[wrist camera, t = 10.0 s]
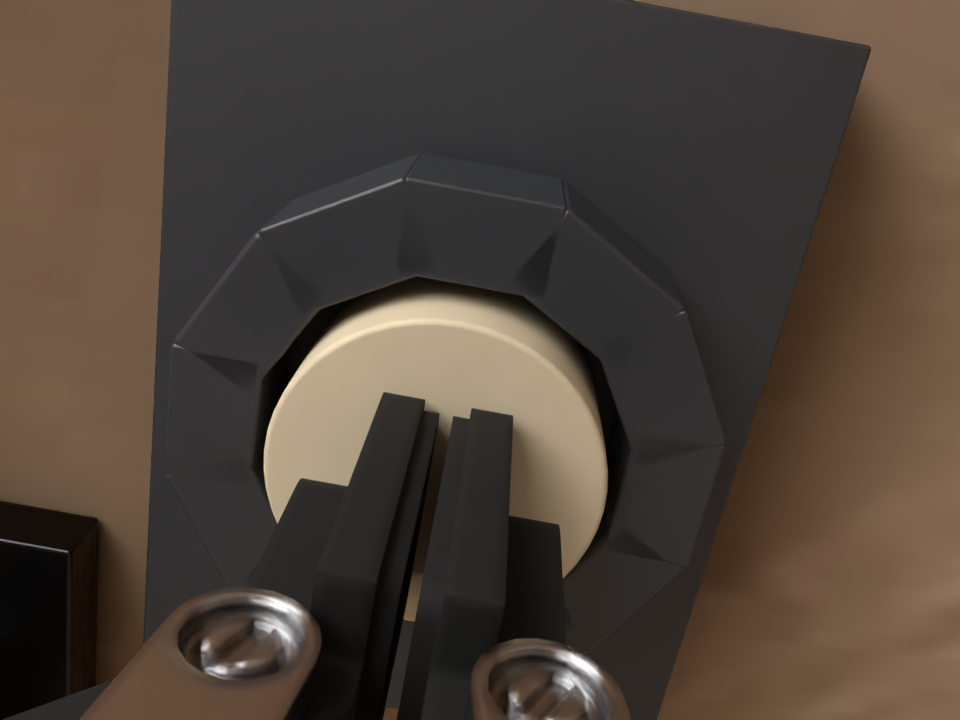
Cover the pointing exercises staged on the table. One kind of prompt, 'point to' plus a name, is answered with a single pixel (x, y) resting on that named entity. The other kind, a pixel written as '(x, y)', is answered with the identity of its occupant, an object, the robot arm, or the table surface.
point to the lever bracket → (46, 606)
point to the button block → (489, 252)
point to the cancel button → (449, 402)
